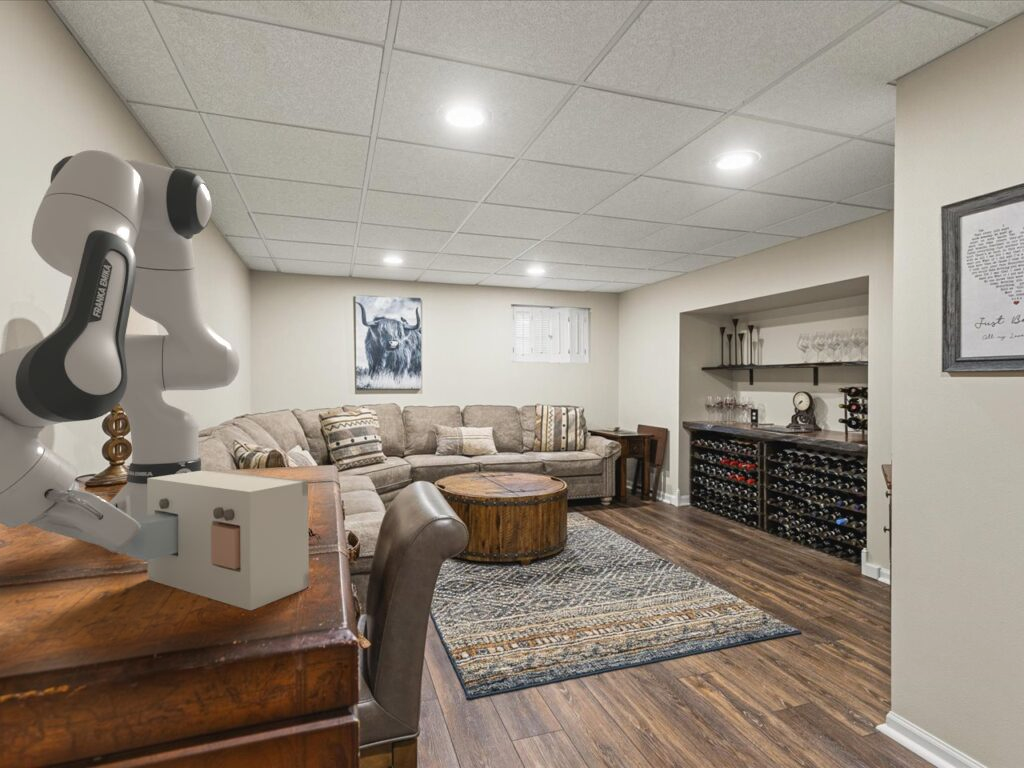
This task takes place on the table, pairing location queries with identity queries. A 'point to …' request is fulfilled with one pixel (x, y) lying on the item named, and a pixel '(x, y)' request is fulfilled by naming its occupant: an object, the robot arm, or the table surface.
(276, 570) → the block
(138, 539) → the button one
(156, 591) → the table surface
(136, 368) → the robot arm
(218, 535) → the button two
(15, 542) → the table surface
